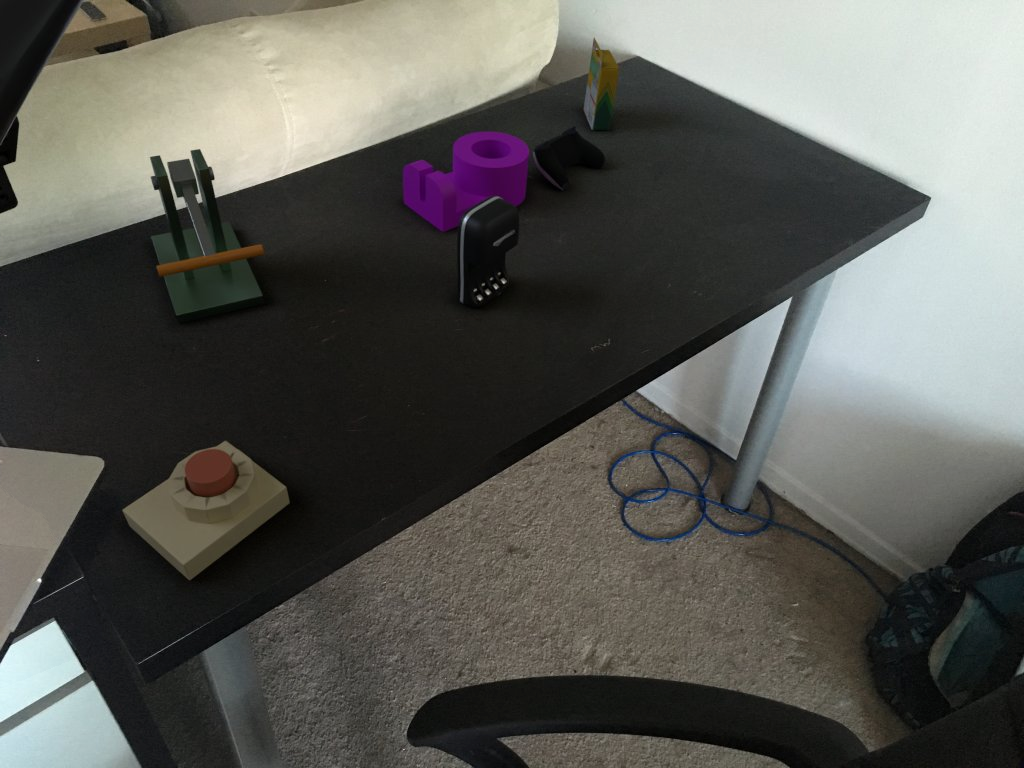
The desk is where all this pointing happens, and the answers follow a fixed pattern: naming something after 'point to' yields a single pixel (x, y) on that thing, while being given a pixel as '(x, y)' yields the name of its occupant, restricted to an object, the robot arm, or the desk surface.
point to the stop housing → (205, 513)
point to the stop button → (210, 472)
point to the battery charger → (485, 250)
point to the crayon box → (600, 88)
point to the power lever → (199, 225)
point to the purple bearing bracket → (468, 178)
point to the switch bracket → (201, 254)
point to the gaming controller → (565, 156)
